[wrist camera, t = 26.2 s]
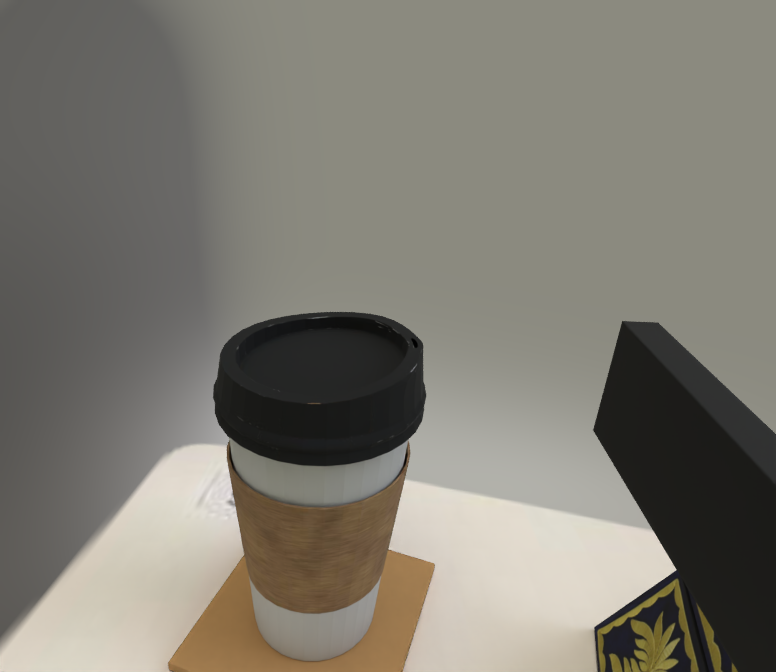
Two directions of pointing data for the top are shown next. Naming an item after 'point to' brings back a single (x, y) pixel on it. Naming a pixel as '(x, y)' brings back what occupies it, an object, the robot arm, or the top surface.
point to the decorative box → (660, 634)
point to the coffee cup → (318, 467)
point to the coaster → (270, 668)
